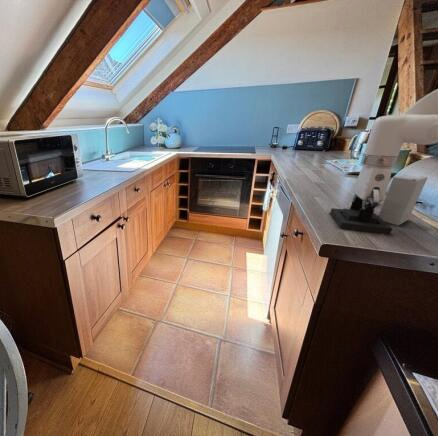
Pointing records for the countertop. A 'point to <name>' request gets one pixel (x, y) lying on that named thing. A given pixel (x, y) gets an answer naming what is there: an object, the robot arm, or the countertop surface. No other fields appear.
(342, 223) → the frame
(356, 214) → the black pad
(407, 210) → the cosmetic box
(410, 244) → the countertop surface
